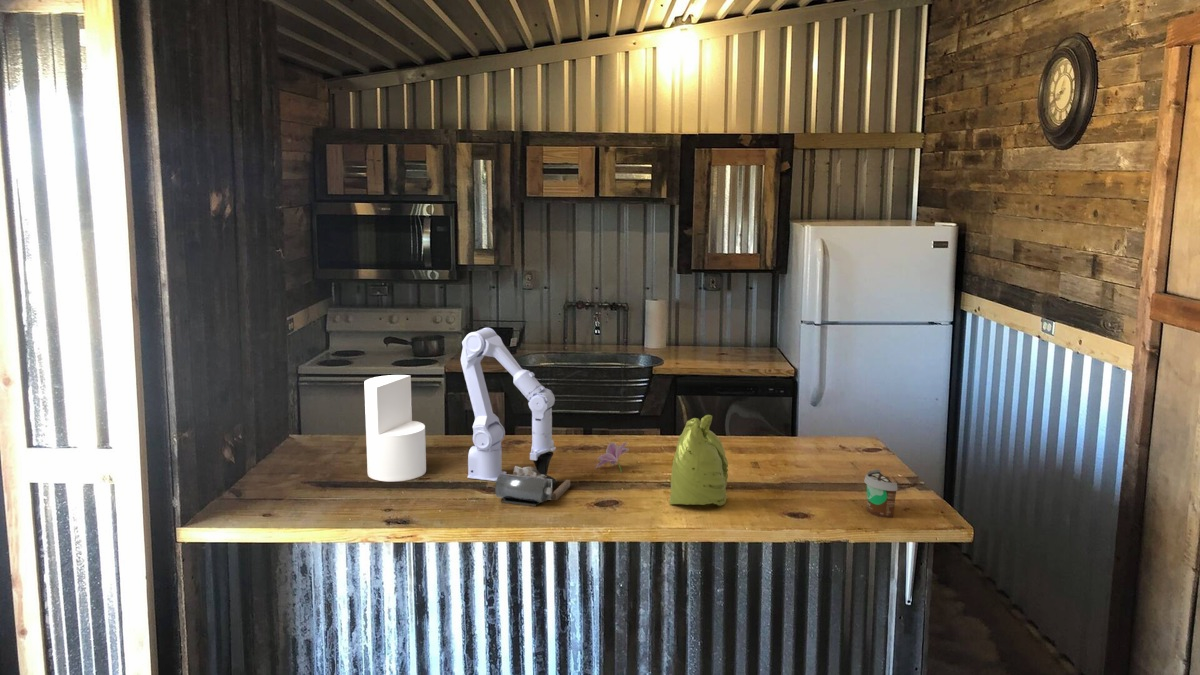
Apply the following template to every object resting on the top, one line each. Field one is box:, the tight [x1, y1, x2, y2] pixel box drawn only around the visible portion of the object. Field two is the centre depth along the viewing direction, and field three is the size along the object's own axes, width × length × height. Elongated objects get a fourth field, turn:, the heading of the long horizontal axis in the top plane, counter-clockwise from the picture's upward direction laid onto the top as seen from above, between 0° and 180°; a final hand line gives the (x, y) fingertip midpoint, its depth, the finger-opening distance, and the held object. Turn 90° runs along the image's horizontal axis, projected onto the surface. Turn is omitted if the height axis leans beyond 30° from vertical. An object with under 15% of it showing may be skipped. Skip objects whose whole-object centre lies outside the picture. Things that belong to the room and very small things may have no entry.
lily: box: [595, 441, 630, 473], centre depth 277 cm, size 12×12×10 cm
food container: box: [863, 468, 898, 519], centre depth 244 cm, size 12×6×10 cm, turn 5°
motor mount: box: [494, 473, 571, 507], centre depth 255 cm, size 17×19×7 cm
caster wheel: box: [512, 465, 557, 491], centre depth 259 cm, size 7×11×10 cm
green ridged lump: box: [669, 414, 729, 507], centre depth 254 cm, size 25×16×24 cm, turn 169°
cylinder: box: [363, 374, 427, 482], centre depth 272 cm, size 17×17×28 cm
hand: (542, 476), depth 265 cm, fingers closed
